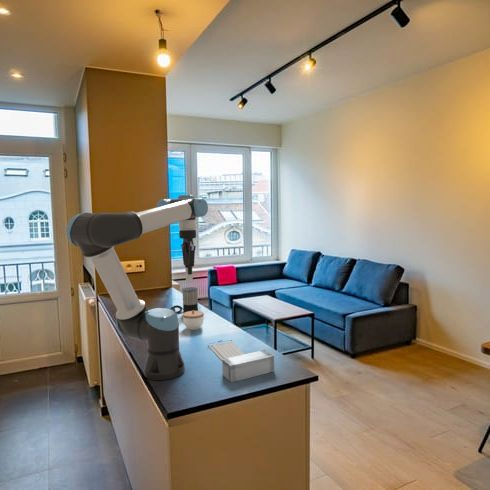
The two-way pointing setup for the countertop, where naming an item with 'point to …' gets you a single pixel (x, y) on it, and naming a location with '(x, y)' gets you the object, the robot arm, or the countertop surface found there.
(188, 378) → the countertop surface
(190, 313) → the lidded jar
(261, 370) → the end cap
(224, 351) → the baseboard
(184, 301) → the milk frother
